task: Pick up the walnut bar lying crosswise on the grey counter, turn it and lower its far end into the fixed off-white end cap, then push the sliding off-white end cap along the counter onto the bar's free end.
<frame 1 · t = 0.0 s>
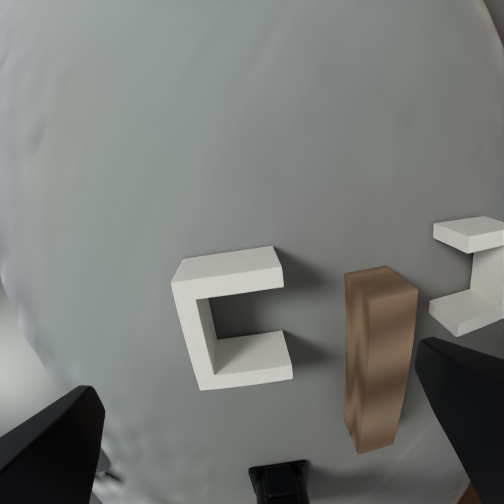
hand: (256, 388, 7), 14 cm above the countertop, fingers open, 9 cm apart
slat: (364, 354, 25), on the countertop
cap a: (237, 304, 22), on the countertop
cap b: (474, 272, 20), point 2 cm above the countertop, slide at 5.5 cm
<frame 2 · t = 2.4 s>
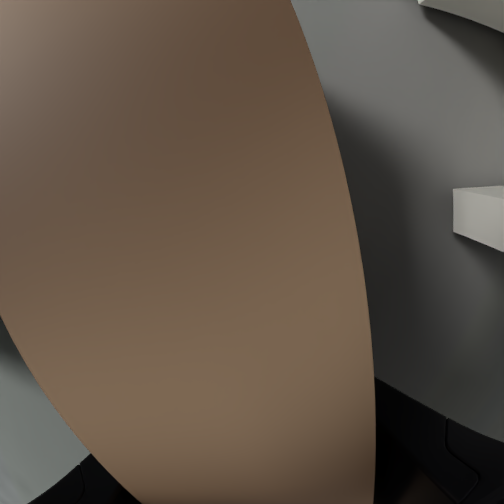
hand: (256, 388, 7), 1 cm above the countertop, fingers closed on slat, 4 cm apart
slat: (252, 362, 8), on the countertop, touching gripper
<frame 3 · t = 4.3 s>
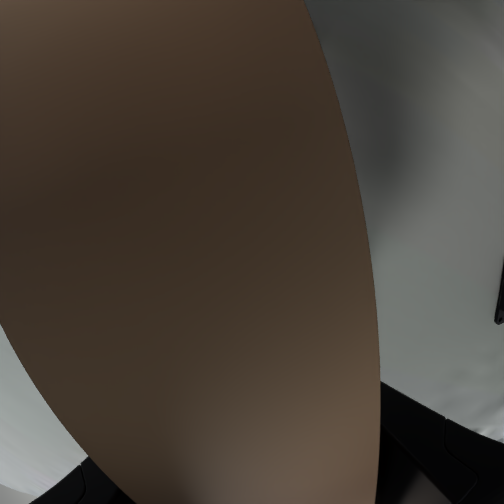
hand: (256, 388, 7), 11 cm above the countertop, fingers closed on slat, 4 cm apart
slat: (253, 362, 8), point 10 cm above the countertop, touching gripper
when the fingers open (2 cm above the countertop, at t = 6.0 s): slat drops 1 cm, on the countertop.
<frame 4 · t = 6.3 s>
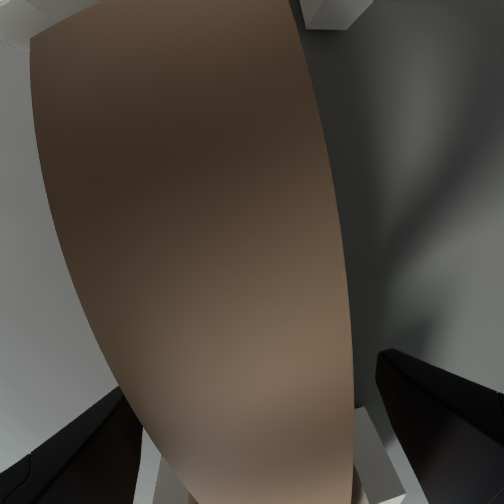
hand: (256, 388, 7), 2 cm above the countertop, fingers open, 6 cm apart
slat: (251, 339, 10), on the countertop
cap a: (272, 466, 11), on the countertop
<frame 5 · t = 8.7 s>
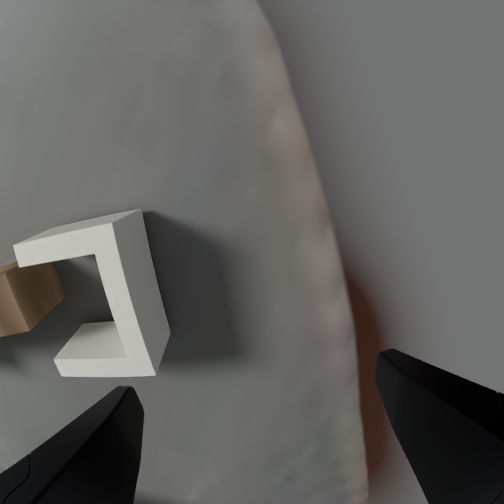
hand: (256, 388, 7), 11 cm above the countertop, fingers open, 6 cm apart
cap b: (95, 295, 15), point 2 cm above the countertop, slide at 5.5 cm
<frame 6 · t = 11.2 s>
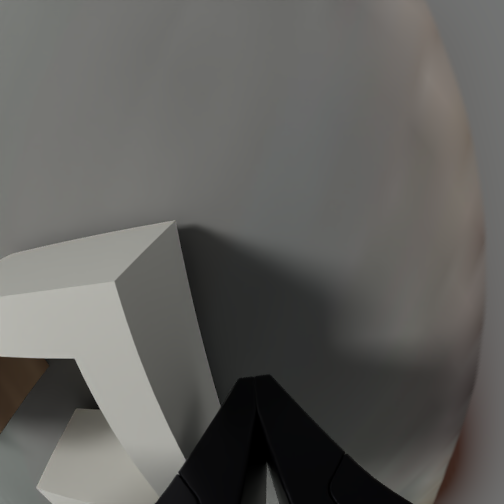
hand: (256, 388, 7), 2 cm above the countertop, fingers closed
cap b: (91, 395, 7), point 2 cm above the countertop, slide at 5.3 cm, touching gripper
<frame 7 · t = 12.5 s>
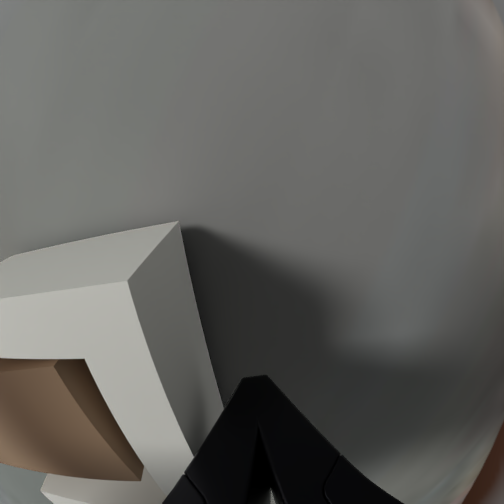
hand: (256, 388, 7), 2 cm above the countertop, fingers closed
slat: (0, 350, 10), on the countertop
cap b: (96, 396, 7), point 2 cm above the countertop, slide at -0.1 cm, touching gripper
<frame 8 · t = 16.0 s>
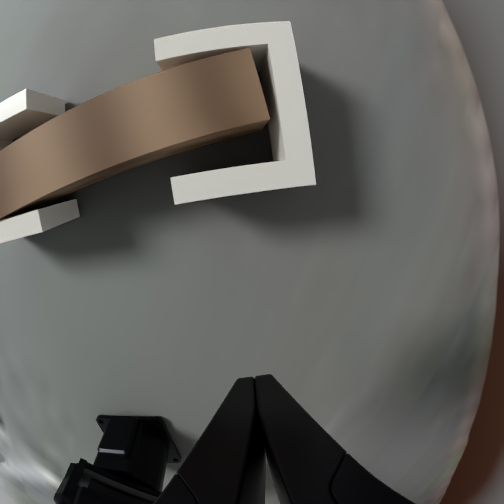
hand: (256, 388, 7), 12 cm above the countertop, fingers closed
slat: (124, 142, 17), on the countertop
cap a: (35, 169, 16), on the countertop
cap b: (233, 112, 14), point 2 cm above the countertop, slide at 0.0 cm
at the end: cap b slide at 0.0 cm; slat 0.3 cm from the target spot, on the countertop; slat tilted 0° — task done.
